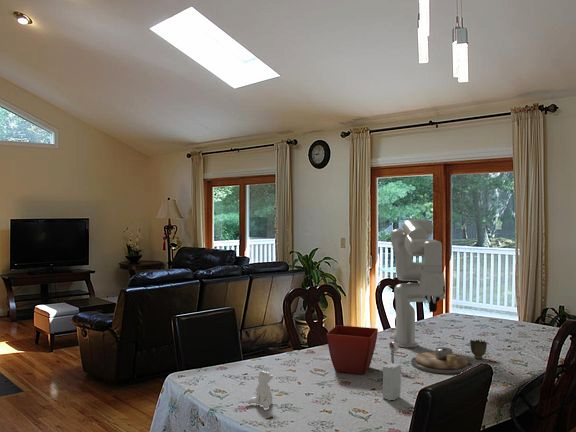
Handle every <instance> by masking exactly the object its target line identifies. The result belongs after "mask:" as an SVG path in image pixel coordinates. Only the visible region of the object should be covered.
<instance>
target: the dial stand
mask: <svg viewBox="0 0 576 432" xmlns="http://www.w3.org/2000/svg"><path fill="white" fill-rule="evenodd" d="M388 346H389V349H390V352H391V353H390V356H391V360H390V361H391V362H390V363H393V364H395V352H397V351H398V350H399V349H400V347H399V346H398V344H397V343H396V342H393V341H391V342H390V343H389V345H388Z"/></svg>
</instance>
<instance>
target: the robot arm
mask: <svg viewBox="0 0 576 432" xmlns="http://www.w3.org/2000/svg"><path fill="white" fill-rule="evenodd" d="M433 231H434V227H433V223H432V221H430V220H429V219H427V218H426V219H425V218H424V219H421V218H420V219H418V218H415V219H414V218H412V219H407V220H404V222H403V224H402V227H400V228H395V229H393V230H392V231H391V233H390V242H391V246H392V250H393V251H394V257H395V273H396V278H397V280H399V281H410V282H407V283H406V282H405V283H402V282H401V283H398V284H396V285H394V288H393V289H394V291H393V295H394V299H395V300H394V301H395V334H392V333H391V334H390V335H389V339H392V340H393V341H392V342H396V343H397V344H398V346H399V348H404V349H405V348H406V349H407V348H417V347H418V346H419V342H418V341H416V313H415V312H416V311H415V309H414V307H413V306H412V305H411V303H424V302H427V303H428V310H429V312H430V313H435V312H437V310H438V302H439V301H441V300H445V299H446V296H445V295H446V282H445V281H446V279H445V275H444V274H445V273H444V272H443V246H442V245H443V244H442V242H441V241H438V240H437V239H430V238H431V236H432V234H433ZM413 257H423V262H421V261H416V262H415V261H413ZM411 281H413V283H412V282H411ZM414 281H416V282H415V283H414Z"/></svg>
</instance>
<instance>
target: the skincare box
mask: <svg viewBox="0 0 576 432" xmlns="http://www.w3.org/2000/svg"><path fill="white" fill-rule="evenodd" d="M401 367H402V366H401V364H398V363H394V364H393V363H391V362H390V363H388V364H386V365H384V366H382V399H383V398H385V399H389V400H394V401H395V399H396V398H397V399H399V398H400V397H401V369H402V368H401ZM398 397H399V398H398ZM385 399H384V400H385ZM397 399H396V400H397Z"/></svg>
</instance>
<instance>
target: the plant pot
mask: <svg viewBox="0 0 576 432" xmlns="http://www.w3.org/2000/svg"><path fill="white" fill-rule="evenodd" d="M378 333H379V329H378V327H377V328H376V327H365V326H354V325H353V326H352V325H340V324H339V325H335V326H334V327H332V328H331V329H330V330H328V332H327V333H326V339H327V340H326V341H327V345H328V350H329V356H330V359H331V362H332V366H333V369H334V371H335V372H336V371H337V373H344V372H347V373H346V374H353V373H355V375H365V374H366V373H367V371H368V370H369V368H370V366H371V363H372V360H373V356H374V352H375V349H376V344H377V339H378Z"/></svg>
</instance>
